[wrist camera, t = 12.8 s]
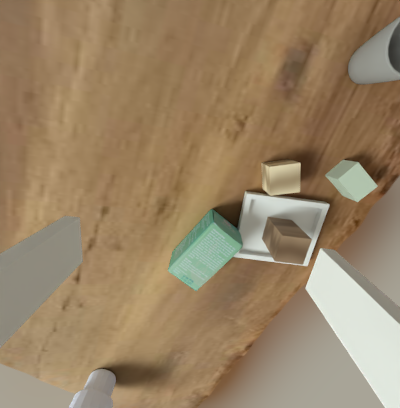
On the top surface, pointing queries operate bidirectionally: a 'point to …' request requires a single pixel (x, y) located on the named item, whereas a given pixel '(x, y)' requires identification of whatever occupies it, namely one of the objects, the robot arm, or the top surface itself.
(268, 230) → the walnut block
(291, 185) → the oak block
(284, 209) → the tray
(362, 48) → the cup
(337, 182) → the sage block
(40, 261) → the robot arm
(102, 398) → the soap bottle
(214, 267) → the box
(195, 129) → the top surface
